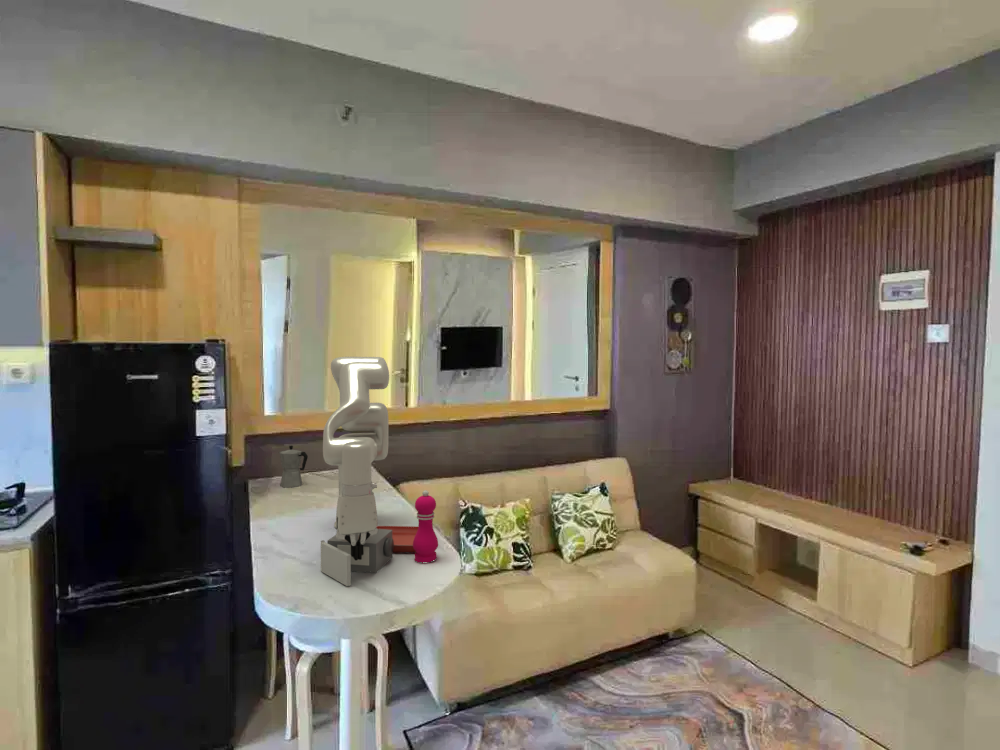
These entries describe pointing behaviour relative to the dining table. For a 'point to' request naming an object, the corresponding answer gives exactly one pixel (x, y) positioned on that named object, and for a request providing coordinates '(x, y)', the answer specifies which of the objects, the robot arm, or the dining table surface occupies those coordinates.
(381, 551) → the camera case
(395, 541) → the plant saucer
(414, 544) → the pepper mill
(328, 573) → the side door
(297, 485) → the coffeepot
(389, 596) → the dining table surface
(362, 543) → the robot arm
